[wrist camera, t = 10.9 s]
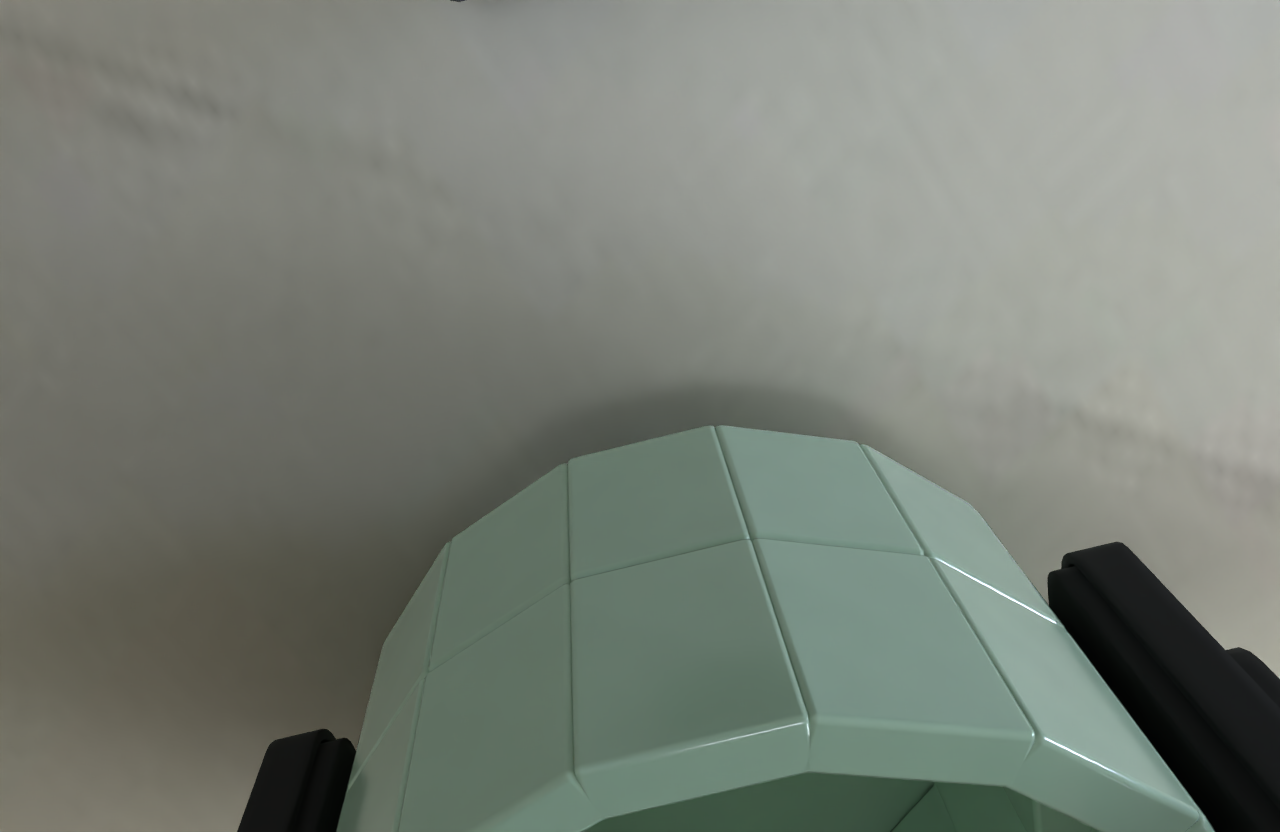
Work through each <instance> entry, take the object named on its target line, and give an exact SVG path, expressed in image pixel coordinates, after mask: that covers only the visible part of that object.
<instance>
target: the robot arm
mask: <svg viewBox="0 0 1280 832" xmlns="http://www.w3.org/2000/svg"><path fill="white" fill-rule="evenodd" d="M1048 597H1049V607H1050V608H1051V609H1052V611H1053V612H1054V614H1055V615H1056V616H1057V618H1058V619H1059V620H1060V622H1061V623H1062V624H1063V626H1064V627H1065V629H1066V630H1067V632H1068V633H1069V634H1070V635H1071V636H1072V638H1073V639H1074V640H1075V642H1076V643H1077V644H1078V646H1079V647H1080V648H1081V650H1082V651H1083V652H1084V654H1085V655H1086V656H1087V658H1088V659H1089V660H1090V662H1091V663H1092V664H1093V666H1094V667H1095V668H1096V670H1097V671H1098V673H1099V674H1100V675H1101V677H1102V678H1103V679H1104V681H1105V682H1106V683H1107V685H1108V686H1109V687H1110V689H1111V690H1112V691H1113V693H1114V694H1115V695H1116V697H1117V698H1118V699H1119V701H1120V702H1121V703H1122V705H1123V706H1124V707H1125V709H1126V710H1127V711H1128V713H1129V714H1130V716H1131V717H1132V718H1133V720H1134V721H1135V722H1136V724H1137V725H1138V726H1139V728H1140V729H1141V730H1142V732H1143V733H1144V734H1145V736H1146V737H1147V738H1148V740H1149V741H1150V742H1151V744H1152V745H1153V746H1154V748H1155V749H1156V750H1157V752H1158V753H1159V754H1160V756H1161V757H1162V758H1163V760H1164V761H1165V763H1166V764H1167V765H1168V767H1169V768H1170V769H1171V771H1172V772H1173V773H1174V775H1175V776H1176V777H1177V779H1178V780H1179V781H1180V783H1181V784H1182V785H1183V787H1184V788H1185V789H1186V791H1187V792H1188V793H1189V795H1190V796H1191V797H1192V799H1193V800H1194V801H1195V803H1196V804H1197V806H1198V807H1199V808H1200V810H1201V811H1202V812H1203V814H1204V815H1205V816H1206V818H1207V819H1208V821H1209V822H1210V824H1211V826H1212V827H1213V829H1214V830H1215V832H1280V679H1279V678H1278V677H1277V676H1276V675H1275V674H1274V673H1273V672H1272V671H1271V670H1270V669H1269V668H1268V667H1267V666H1266V665H1265V664H1264V663H1263V662H1262V661H1261V660H1260V659H1259V658H1257V657H1256V656H1255V655H1254V654H1252V653H1251V652H1250V651H1247V650H1245V649H1242V648H1239V647H1238V648H1234V649H1229V650H1225V649H1224V648H1223V647H1222V646H1221V645H1220V644H1219V643H1218V642H1217V641H1216V640H1215V639H1214V638H1213V637H1212V636H1211V635H1210V634H1209V632H1208V631H1207V630H1206V629H1205V628H1204V627H1203V626H1202V625H1201V624H1200V623H1199V622H1198V621H1197V620H1196V619H1195V618H1194V617H1193V616H1192V614H1191V613H1190V612H1189V611H1188V610H1187V609H1186V608H1185V607H1184V606H1183V605H1182V604H1181V603H1180V602H1179V601H1178V600H1177V599H1176V598H1175V597H1174V595H1173V594H1172V593H1171V592H1170V591H1169V590H1168V589H1167V588H1166V587H1165V586H1164V585H1163V584H1162V583H1161V582H1160V581H1159V580H1158V579H1157V577H1156V576H1155V575H1154V574H1153V573H1152V572H1151V571H1150V570H1149V569H1148V568H1147V567H1146V566H1145V565H1144V564H1143V563H1142V562H1141V561H1140V559H1139V558H1138V557H1137V556H1136V555H1135V554H1134V553H1133V552H1132V551H1131V550H1130V549H1129V548H1128V547H1127V546H1125V545H1124V544H1123V543H1120V542H1114V543H1110V544H1105V545H1101V546H1097V547H1092V548H1088V549H1084V550H1080V551H1075V552H1071V553H1067V554H1066V555H1064V556H1063V559H1062V568H1061V569H1060V570H1056V571H1052V572H1050V573H1049V575H1048ZM355 754H356V750H355V748H354V746H353V745H352V743H351V741H350V740H348V739H347V738H342V739H337V740H336V739H335V737H334V736H333V734H332V733H331V732H330V731H329V730H328V729H320V730H316V731H312V732H307V733H303V734H299V735H295V736H290V737H286V738H282V739H278V740H275V741H273V742H272V743H271V744H270V745H269V747H268V749H267V751H266V753H265V756H264V759H263V762H262V764H261V767H260V770H259V773H258V775H257V778H256V781H255V784H254V787H253V789H252V792H251V795H250V798H249V800H248V803H247V806H246V809H245V812H244V814H243V817H242V820H241V823H240V825H239V828H238V831H237V832H336V829H337V825H338V821H339V817H340V813H341V809H342V805H343V803H344V800H345V794H346V790H347V786H348V782H349V778H350V774H351V770H352V766H353V762H354V758H355Z"/></svg>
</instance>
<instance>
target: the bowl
mask: <svg viewBox="0 0 1280 832" xmlns="http://www.w3.org/2000/svg"><path fill="white" fill-rule="evenodd" d="M336 832H1215V830H1214V829H1213V827H1212V826H1211V824H1210V822H1209V821H1208V819H1207V818H1206V816H1205V815H1204V814H1203V812H1202V811H1201V810H1200V808H1199V807H1198V806H1197V804H1196V803H1195V801H1194V800H1193V799H1192V797H1191V796H1190V795H1189V793H1188V792H1187V791H1186V789H1185V788H1184V787H1183V785H1182V784H1181V783H1180V781H1179V780H1178V779H1177V777H1176V776H1175V775H1174V773H1173V772H1172V771H1171V769H1170V768H1169V767H1168V765H1167V764H1166V763H1165V761H1164V760H1163V758H1162V757H1161V756H1160V754H1159V753H1158V752H1157V750H1156V749H1155V748H1154V746H1153V745H1152V744H1151V742H1150V741H1149V740H1148V738H1147V737H1146V736H1145V734H1144V733H1143V732H1142V730H1141V729H1140V728H1139V726H1138V725H1137V724H1136V722H1135V721H1134V720H1133V718H1132V717H1131V716H1130V714H1129V713H1128V711H1127V710H1126V709H1125V707H1124V706H1123V705H1122V703H1121V702H1120V701H1119V699H1118V698H1117V697H1116V695H1115V694H1114V693H1113V691H1112V690H1111V689H1110V687H1109V686H1108V685H1107V683H1106V682H1105V681H1104V679H1103V678H1102V677H1101V675H1100V674H1099V673H1098V671H1097V670H1096V668H1095V667H1094V666H1093V664H1092V663H1091V662H1090V660H1089V659H1088V658H1087V656H1086V655H1085V654H1084V652H1083V651H1082V650H1081V648H1080V647H1079V646H1078V644H1077V643H1076V642H1075V640H1074V639H1073V638H1072V636H1071V635H1070V634H1069V633H1068V632H1067V630H1066V629H1065V627H1064V626H1063V624H1062V623H1061V622H1060V620H1059V619H1058V618H1057V616H1056V615H1055V614H1054V612H1053V611H1052V609H1051V608H1050V607H1049V605H1048V604H1047V603H1046V601H1045V600H1044V599H1043V597H1042V596H1041V595H1040V593H1039V592H1038V591H1037V589H1036V588H1035V587H1034V585H1033V584H1032V583H1031V581H1030V580H1029V579H1028V577H1027V576H1026V575H1025V573H1024V572H1023V571H1022V569H1021V568H1020V566H1019V565H1018V564H1017V562H1016V561H1015V560H1014V558H1013V557H1012V556H1011V554H1010V553H1009V552H1008V550H1007V549H1006V548H1005V546H1004V545H1003V544H1002V542H1001V541H1000V540H999V538H998V537H997V536H996V534H995V533H994V532H993V530H992V529H991V528H990V526H989V525H988V524H987V522H986V521H985V519H984V518H983V517H982V515H981V514H980V513H979V512H977V511H976V510H974V508H973V507H972V506H971V504H970V503H968V502H966V501H965V500H963V499H961V498H959V497H958V496H956V495H954V494H952V493H951V492H949V491H947V490H945V489H944V488H942V487H940V486H938V485H937V484H935V483H933V482H931V481H929V480H928V479H926V478H924V477H922V476H921V475H919V474H917V473H915V472H914V471H912V470H910V469H908V468H907V467H905V466H903V465H901V464H900V463H898V462H896V461H894V460H892V459H891V458H889V457H887V456H885V455H884V454H882V453H880V452H878V451H877V450H875V449H873V448H871V447H870V446H868V445H865V444H860V445H859V443H857V442H855V441H851V440H842V439H834V438H825V437H817V436H809V435H800V434H792V433H784V432H775V431H767V430H759V429H750V428H742V427H734V426H725V425H718V426H716V428H714V427H713V426H712V425H707V426H703V427H699V428H695V429H690V430H686V431H682V432H678V433H674V434H670V435H666V436H661V437H657V438H653V439H649V440H645V441H641V442H637V443H633V444H628V445H624V446H620V447H616V448H612V449H608V450H604V451H600V452H595V453H591V454H587V455H583V456H579V457H575V458H572V459H570V460H569V461H568V464H566V463H563V464H560V465H559V466H557V467H556V468H554V469H553V470H551V471H550V472H548V473H547V474H545V475H544V476H543V477H541V478H540V479H538V480H537V481H535V482H534V483H532V484H531V485H529V486H528V487H526V488H525V489H524V490H522V491H521V492H519V493H518V494H516V495H515V496H513V497H512V498H510V499H509V500H507V501H506V502H505V503H503V504H502V505H500V506H499V507H497V508H496V509H494V510H493V511H491V512H490V513H488V514H487V515H486V516H484V517H483V518H481V519H480V520H478V521H477V522H475V523H474V524H472V525H471V526H469V527H468V528H467V529H465V530H464V531H462V532H461V533H459V534H458V535H456V536H455V537H453V539H452V540H451V542H447V543H446V544H445V545H444V547H443V548H442V550H441V552H440V553H439V555H438V556H437V558H436V560H435V561H434V563H433V564H432V566H431V568H430V569H429V571H428V572H427V574H426V576H425V577H424V579H423V580H422V582H421V584H420V585H419V587H418V588H417V590H416V592H415V593H414V595H413V596H412V598H411V600H410V601H409V603H408V604H407V606H406V608H405V609H404V611H403V612H402V614H401V616H400V617H399V619H398V620H397V622H396V624H395V625H394V627H393V628H392V630H391V632H390V633H389V635H388V637H387V638H386V640H385V641H384V643H383V647H382V651H381V654H380V657H379V661H378V665H377V669H376V673H375V677H374V681H373V685H372V689H371V693H370V697H369V701H368V705H367V709H366V713H365V717H364V722H363V726H362V730H361V734H360V738H359V742H358V746H357V750H356V754H355V758H354V762H353V766H352V770H351V774H350V778H349V782H348V786H347V790H346V794H345V800H344V803H343V805H342V809H341V813H340V817H339V821H338V825H337V829H336Z"/></svg>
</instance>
